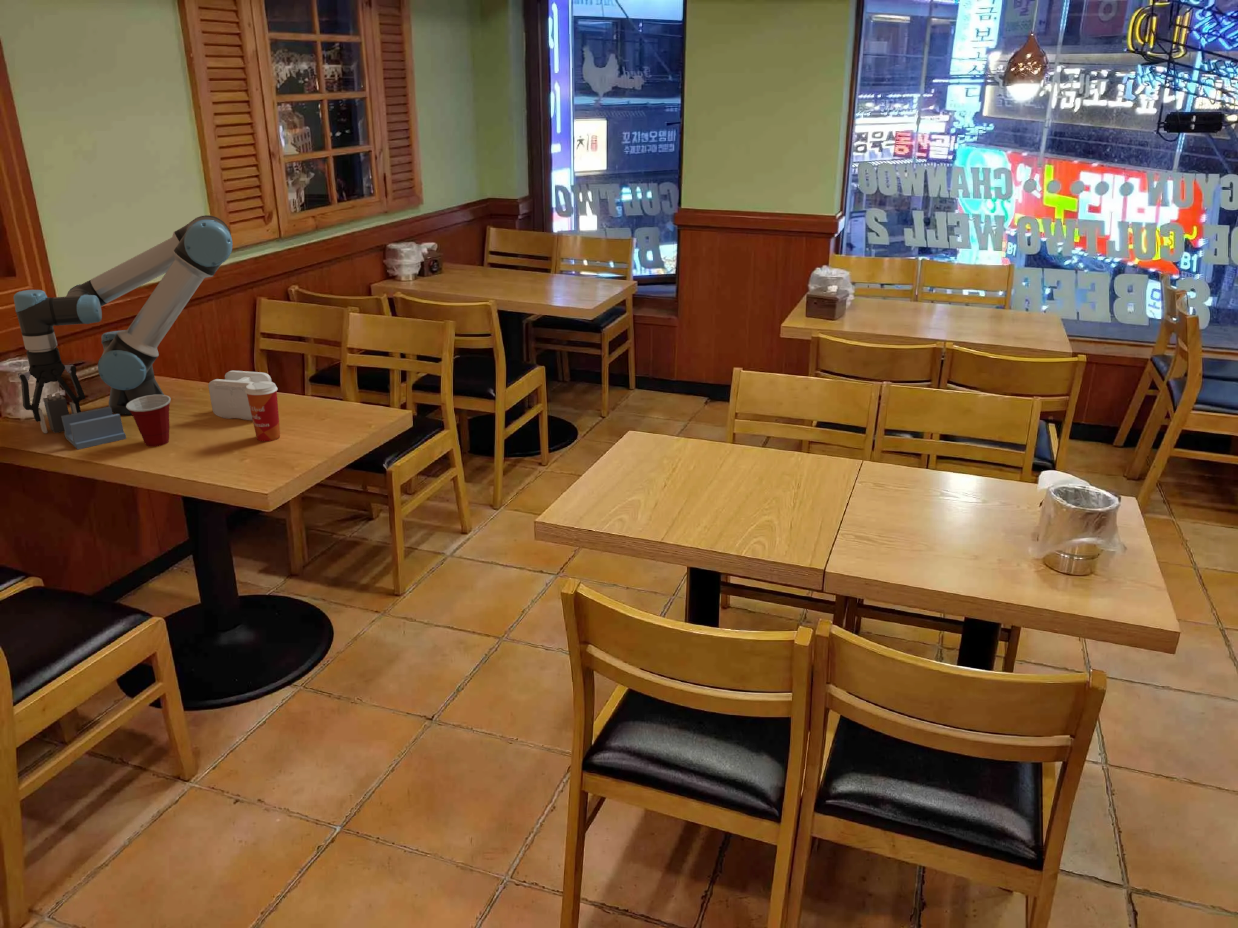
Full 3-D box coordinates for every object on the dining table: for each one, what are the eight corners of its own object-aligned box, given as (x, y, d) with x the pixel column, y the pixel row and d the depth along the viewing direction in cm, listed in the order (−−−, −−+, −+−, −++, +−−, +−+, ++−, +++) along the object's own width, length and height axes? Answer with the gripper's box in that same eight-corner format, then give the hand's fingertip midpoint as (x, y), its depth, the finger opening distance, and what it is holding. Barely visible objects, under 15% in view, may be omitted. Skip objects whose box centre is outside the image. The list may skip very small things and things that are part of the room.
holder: (112, 427, 258) (108, 405, 255) (126, 438, 250) (121, 416, 247) (65, 437, 250) (59, 415, 248) (77, 449, 242) (72, 426, 240)
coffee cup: (247, 437, 251) (238, 385, 245) (275, 430, 256) (267, 378, 251) (262, 445, 246) (253, 392, 240) (290, 437, 251) (283, 385, 245)
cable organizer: (278, 410, 272) (273, 372, 268) (259, 422, 262) (253, 383, 258) (233, 407, 275) (226, 369, 270) (211, 418, 265) (205, 380, 261)
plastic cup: (125, 448, 243) (115, 405, 239) (153, 434, 253) (145, 393, 248) (160, 452, 241) (151, 409, 236) (187, 438, 250) (179, 396, 246)
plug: (68, 425, 259) (60, 390, 256) (72, 429, 256) (64, 394, 253) (50, 428, 257) (42, 394, 253) (54, 433, 254) (46, 398, 250)
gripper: (79, 339, 257) (96, 416, 265) (-5, 352, 244) (16, 433, 253) (87, 344, 251) (104, 423, 260) (1, 358, 239) (22, 440, 247)
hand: (61, 428), depth 256 cm, fingers open, 7 cm apart
